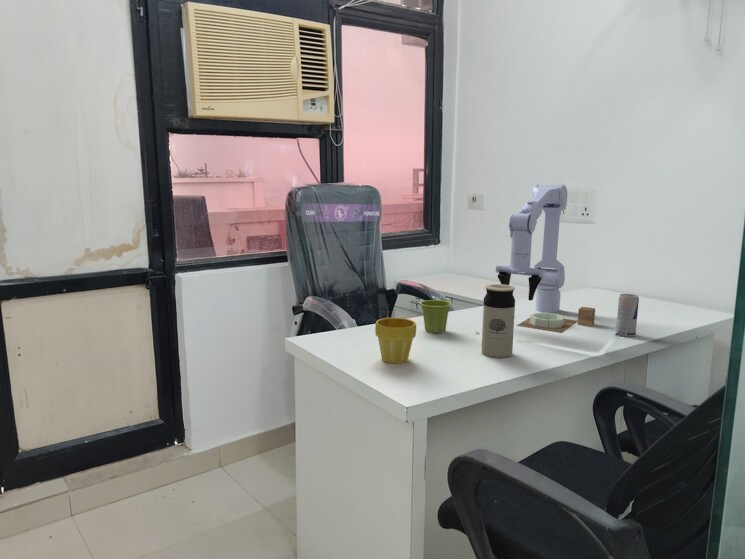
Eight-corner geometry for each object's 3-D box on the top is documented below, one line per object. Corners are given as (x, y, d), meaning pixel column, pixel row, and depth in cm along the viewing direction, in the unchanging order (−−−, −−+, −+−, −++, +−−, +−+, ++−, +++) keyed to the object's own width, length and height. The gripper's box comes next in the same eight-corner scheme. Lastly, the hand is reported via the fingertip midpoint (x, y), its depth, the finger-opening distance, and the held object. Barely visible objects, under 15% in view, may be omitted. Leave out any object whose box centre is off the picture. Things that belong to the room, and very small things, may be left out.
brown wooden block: (580, 325, 175) (582, 306, 174) (593, 326, 173) (595, 308, 172) (577, 327, 172) (578, 309, 171) (590, 329, 170) (592, 310, 169)
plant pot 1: (423, 361, 139) (424, 323, 137) (390, 368, 133) (390, 329, 131) (399, 350, 147) (400, 315, 146) (367, 357, 142) (367, 320, 140)
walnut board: (535, 317, 185) (535, 314, 185) (578, 323, 177) (578, 320, 177) (515, 328, 170) (515, 325, 170) (561, 336, 162) (561, 332, 162)
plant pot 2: (413, 331, 167) (413, 303, 165) (431, 325, 174) (432, 298, 172) (438, 337, 161) (439, 308, 159) (456, 330, 168) (457, 302, 166)
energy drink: (637, 334, 164) (641, 295, 162) (631, 338, 161) (635, 298, 158) (619, 331, 168) (622, 292, 166) (613, 334, 164) (616, 295, 162)
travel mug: (487, 347, 151) (490, 282, 148) (515, 352, 147) (519, 285, 144) (477, 355, 144) (479, 287, 141) (507, 360, 140) (510, 290, 137)
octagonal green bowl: (536, 318, 179) (537, 311, 179) (566, 322, 174) (567, 315, 173) (526, 324, 171) (526, 317, 171) (557, 329, 166) (558, 321, 166)
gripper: (492, 252, 165) (490, 297, 167) (540, 257, 157) (537, 303, 159) (501, 250, 170) (499, 293, 173) (548, 254, 162) (545, 299, 165)
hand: (518, 298), depth 166 cm, fingers open, 7 cm apart
